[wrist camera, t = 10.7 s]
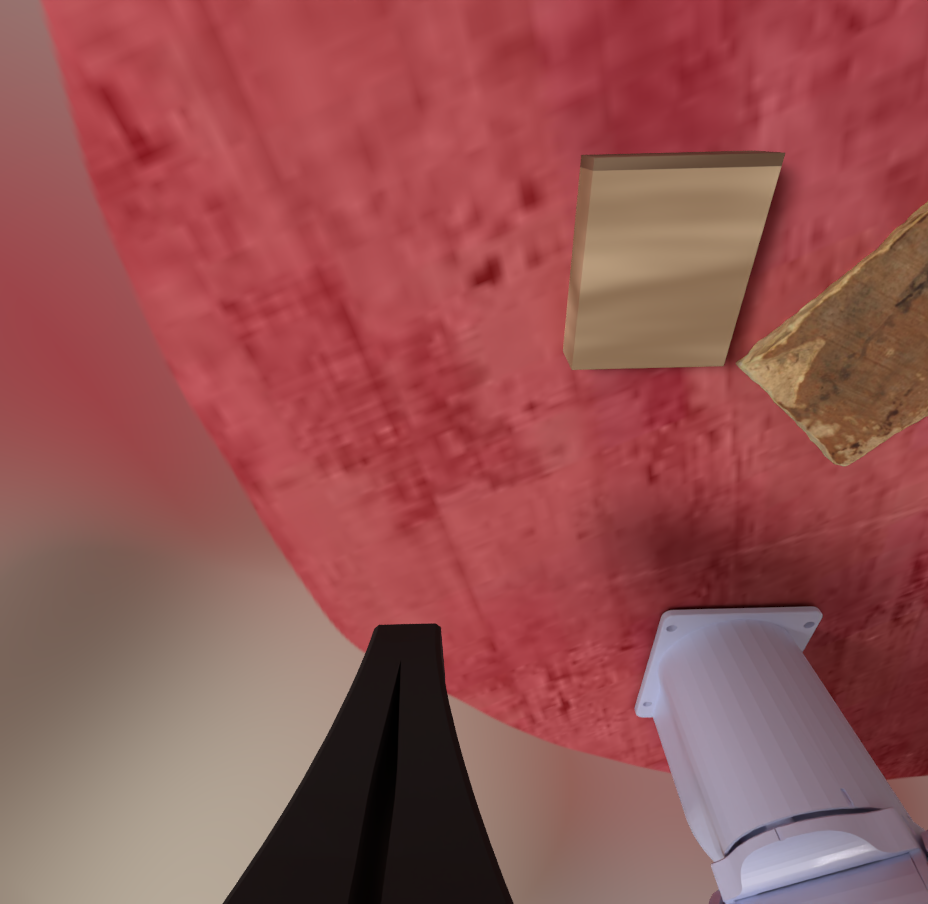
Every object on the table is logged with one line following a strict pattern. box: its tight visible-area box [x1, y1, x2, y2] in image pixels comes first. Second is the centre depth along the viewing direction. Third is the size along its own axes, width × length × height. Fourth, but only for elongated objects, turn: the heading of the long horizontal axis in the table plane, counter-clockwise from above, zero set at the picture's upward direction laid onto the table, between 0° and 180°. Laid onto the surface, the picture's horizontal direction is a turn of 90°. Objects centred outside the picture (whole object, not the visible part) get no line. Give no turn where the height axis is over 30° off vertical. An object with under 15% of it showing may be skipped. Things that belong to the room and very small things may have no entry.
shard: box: [736, 202, 928, 466], centre depth 16 cm, size 11×8×2 cm
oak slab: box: [563, 151, 785, 370], centre depth 15 cm, size 2×5×6 cm
